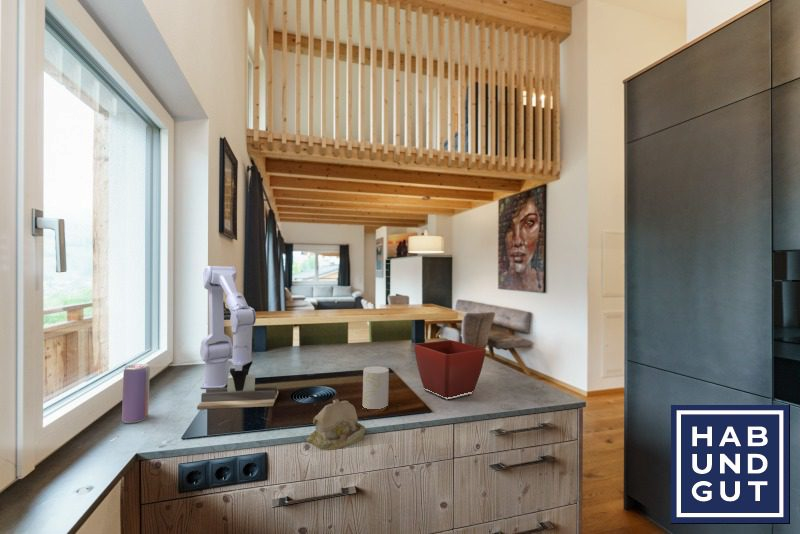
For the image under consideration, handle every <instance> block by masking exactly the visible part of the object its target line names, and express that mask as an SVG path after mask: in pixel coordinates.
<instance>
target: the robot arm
mask: <svg viewBox="0 0 800 534" xmlns="http://www.w3.org/2000/svg"><path fill="white" fill-rule="evenodd" d="M237 276H238V275H237V269H236V267H235V266H233V265H231V266H223V265H220V266H219V265H207V266H206V267H205V268H204V270H203V288H204V289H206V290H207V291H208V310H209V311H208V313H209V314H208V315H209V317H208V318H209V325H208V326H209V334H208V335H206V337H205V338H203V339H202V340H201V344H200V351H199V356H200V359H201V361H202V362H203V363H205V364H204V383H203V384H202V385H200V388H199V389H211V388H226V386H228V377H229V376H232V377H233V380H234V385H235V390H236V391H243V389H244V384H245V379H246V375H249V372H250V369H251V367H252V365H253V357H252V352H253V351H252V348H253V346H252V345H253V340H252V339H253V326H255V324H256V322H257V313H256V311H255V309H254V308H253V307H252V306H249V305H248V303H247V301H246V298H245V296H244V294H242V292H239V291H238V287H237V284H236V279H237ZM224 293H225V295H226V298H225V303H226V305H227V308H228V309H229V312H230V318H229V319H230V324H231V326H230V327H231V332H232V338H231V337H230V336H228V335H227V334H225V315H224V314H225V311H224V310H225V309H224V308H225V306H224V305H225V304H224ZM229 363H232V364H233V366H234V367H233V368H230V364H229Z"/></svg>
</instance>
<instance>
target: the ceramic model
mask: <svg viewBox="0 0 800 534" xmlns="http://www.w3.org/2000/svg"><path fill="white" fill-rule="evenodd" d="M358 421H359V418H358V414H357V410H356V408H355V406H354V405H353V404H352V403H350V402H349V401H348V400H342V401H340V400H339V399H338V398H336V399H333V400H332V403H329V404H326V405H325V406H324V407H323V408H322V409H321V410H320V411H319V412H318V414H317V415H315V416H314V417H313V420H312V423H313V425H315V427H314V428H315V430H314V431H313V432H312V433H310V435H309V436H308V437H306V442H307V443H310V444H312V445H313V446H315V447H316V448H317V449H320V450H326V451H328V450H329V451H330V450H339V449H341V448H344V447H346V446H350V445H352V444H354V443H356V442H358V441H361V440H362V439H363V438H364V435H365V434H366V427H365V426H364V425H363V424H361V423H359V422H358Z"/></svg>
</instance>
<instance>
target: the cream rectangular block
mask: <svg viewBox="0 0 800 534" xmlns="http://www.w3.org/2000/svg"><path fill="white" fill-rule="evenodd" d="M255 385H256V374H248V375H246V379H245V384H244V389H243V391H255V387H256V386H255ZM226 388H227V392H241V391H236V390H235V385H234V380H233V377H232V375H228V384H227V387H226Z"/></svg>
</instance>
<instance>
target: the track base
mask: <svg viewBox="0 0 800 534" xmlns="http://www.w3.org/2000/svg"><path fill="white" fill-rule="evenodd" d="M200 395H201V396H200V397H201V399H200V403H199V404H197V406H196V408H197V410H208V409H209V410H211V409H212V410H213V409H214V410H215V409H232V408H233V409H235V408H237V409H238V408H254V407H255V408H258V407H273V406H274V404H275V402H276V400H277V397H278V396H279V390H278V386H255V391H241V392H227V387H223V388H205V392H202V393H201V394H200Z"/></svg>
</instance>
